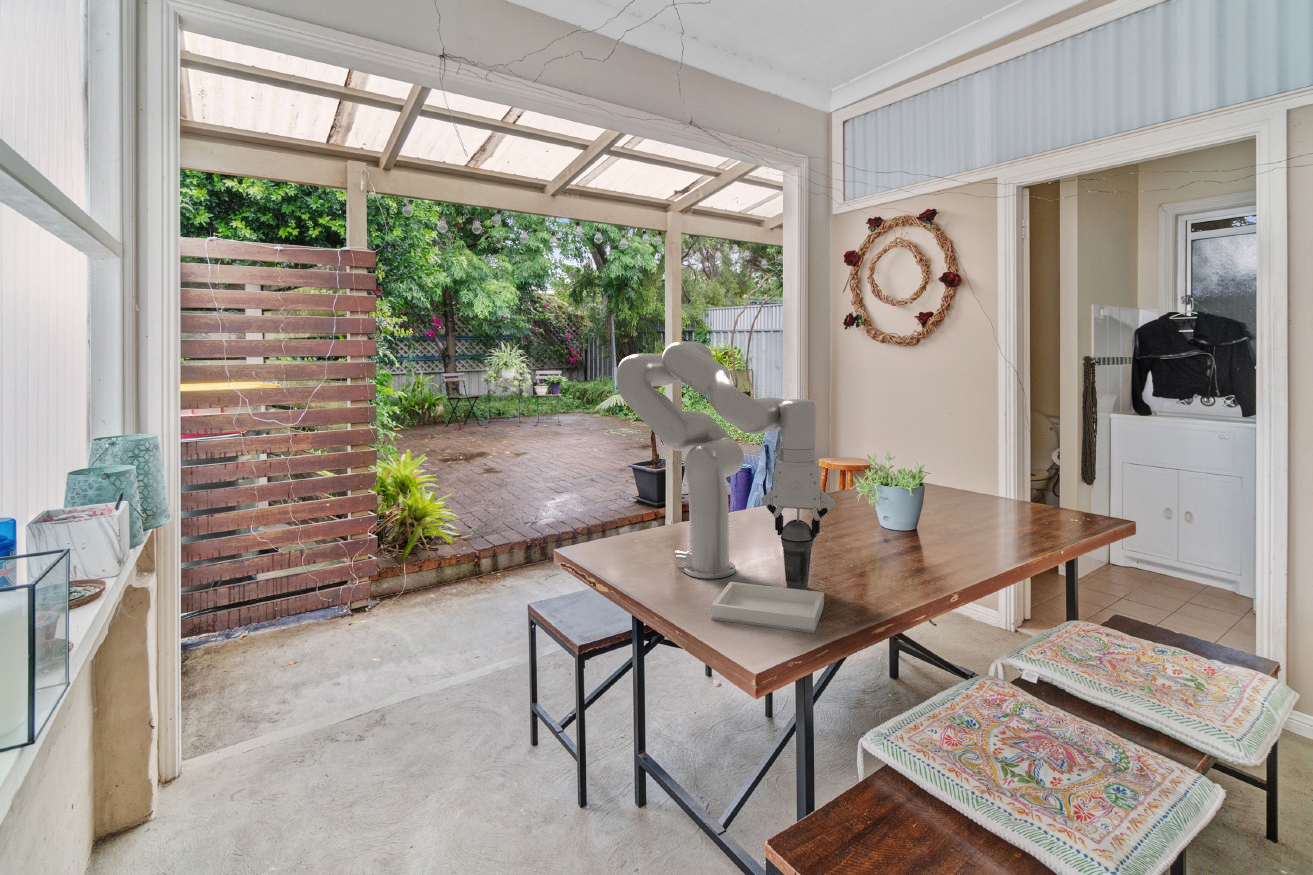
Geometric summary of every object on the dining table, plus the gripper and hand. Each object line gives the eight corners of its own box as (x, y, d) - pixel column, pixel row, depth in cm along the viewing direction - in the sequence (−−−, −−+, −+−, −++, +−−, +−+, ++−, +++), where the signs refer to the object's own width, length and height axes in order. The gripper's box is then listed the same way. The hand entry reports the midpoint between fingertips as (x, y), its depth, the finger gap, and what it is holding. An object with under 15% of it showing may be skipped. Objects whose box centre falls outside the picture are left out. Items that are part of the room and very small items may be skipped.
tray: (711, 619, 125) (711, 604, 124) (730, 594, 138) (729, 581, 137) (814, 633, 117) (814, 617, 117) (823, 606, 130) (823, 592, 130)
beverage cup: (808, 581, 145) (809, 496, 142) (817, 593, 138) (818, 503, 135) (777, 582, 145) (777, 497, 142) (784, 594, 137) (784, 504, 135)
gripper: (754, 456, 137) (754, 536, 139) (836, 459, 131) (835, 543, 133) (762, 452, 144) (762, 528, 146) (840, 454, 138) (839, 534, 140)
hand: (797, 534), depth 140 cm, fingers closed on beverage cup, 6 cm apart
